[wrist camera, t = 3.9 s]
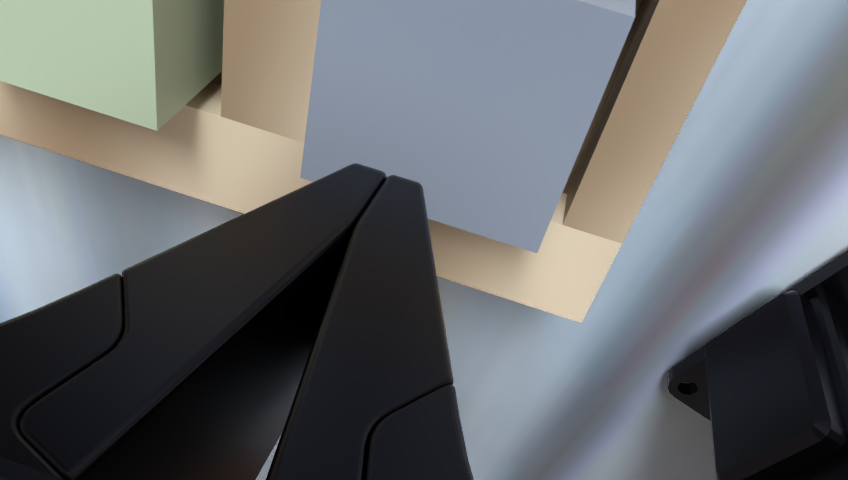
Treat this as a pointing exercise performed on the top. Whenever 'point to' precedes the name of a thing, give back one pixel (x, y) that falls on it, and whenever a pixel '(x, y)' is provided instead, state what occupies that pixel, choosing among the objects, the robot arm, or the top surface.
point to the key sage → (113, 53)
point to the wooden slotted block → (452, 247)
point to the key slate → (464, 101)
